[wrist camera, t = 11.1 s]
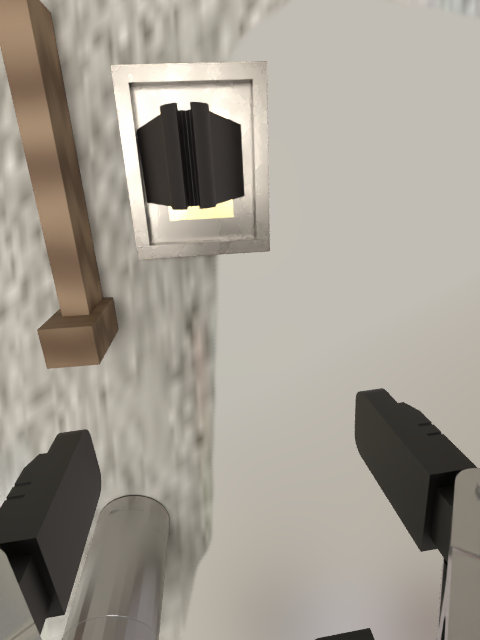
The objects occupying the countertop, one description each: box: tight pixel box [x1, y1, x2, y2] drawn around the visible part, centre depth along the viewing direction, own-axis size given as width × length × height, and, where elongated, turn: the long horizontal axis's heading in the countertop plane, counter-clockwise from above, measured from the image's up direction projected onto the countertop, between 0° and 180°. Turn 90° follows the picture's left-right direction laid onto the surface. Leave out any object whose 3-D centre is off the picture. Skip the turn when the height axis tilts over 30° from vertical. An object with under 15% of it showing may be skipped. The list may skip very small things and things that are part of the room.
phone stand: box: [137, 102, 244, 210], centre depth 28 cm, size 9×6×12 cm, turn 93°
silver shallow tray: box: [111, 61, 270, 259], centre depth 34 cm, size 15×12×3 cm
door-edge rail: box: [0, 0, 118, 369], centre depth 31 cm, size 28×4×8 cm, turn 3°
